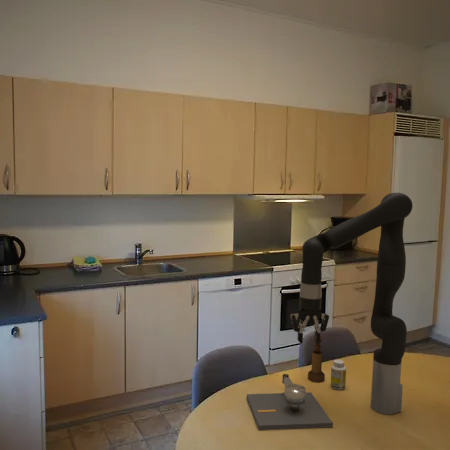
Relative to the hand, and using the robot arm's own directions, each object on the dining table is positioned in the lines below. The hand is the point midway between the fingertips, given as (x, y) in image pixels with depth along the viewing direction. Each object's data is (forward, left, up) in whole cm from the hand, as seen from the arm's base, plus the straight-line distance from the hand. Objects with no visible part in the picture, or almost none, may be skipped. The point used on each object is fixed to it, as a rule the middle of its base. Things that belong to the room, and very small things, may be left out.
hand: (308, 342), depth 160 cm
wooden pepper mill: (-10, -19, -22) cm, 30 cm away
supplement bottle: (-16, -11, -22) cm, 29 cm away
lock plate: (+9, +7, -21) cm, 24 cm away
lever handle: (+7, +4, -20) cm, 21 cm away
